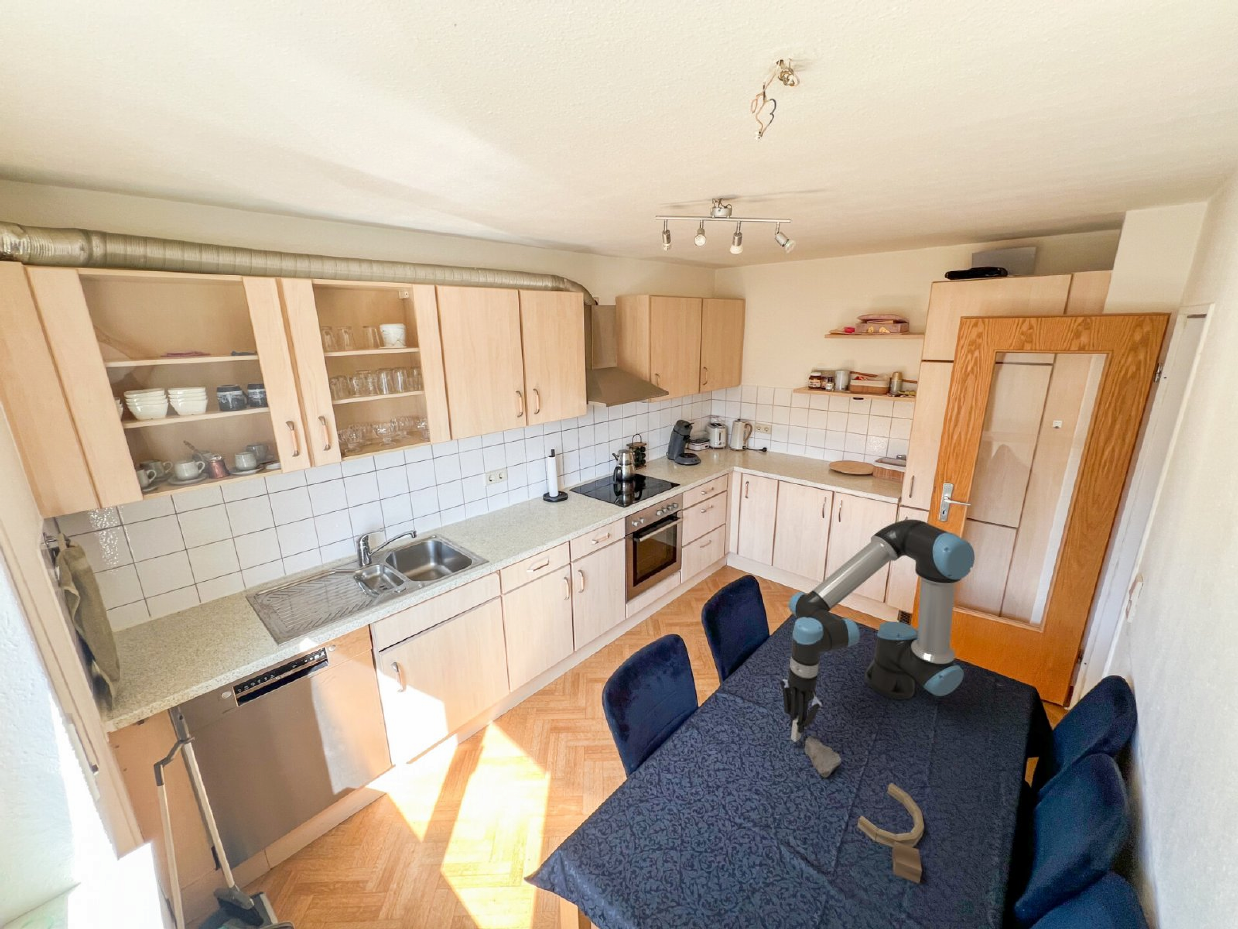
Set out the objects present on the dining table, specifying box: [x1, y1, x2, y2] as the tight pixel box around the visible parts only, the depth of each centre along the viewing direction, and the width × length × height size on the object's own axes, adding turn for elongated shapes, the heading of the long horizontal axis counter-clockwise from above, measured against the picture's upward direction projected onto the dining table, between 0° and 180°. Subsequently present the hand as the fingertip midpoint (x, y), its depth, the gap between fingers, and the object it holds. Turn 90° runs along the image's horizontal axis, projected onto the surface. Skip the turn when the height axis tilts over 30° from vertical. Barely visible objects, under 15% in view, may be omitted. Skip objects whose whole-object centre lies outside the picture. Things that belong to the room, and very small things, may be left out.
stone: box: [804, 735, 842, 778], centre depth 139 cm, size 8×10×6 cm
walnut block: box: [891, 841, 923, 884], centre depth 112 cm, size 5×5×4 cm
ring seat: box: [856, 782, 925, 848], centre depth 122 cm, size 17×11×2 cm, turn 127°
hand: (795, 738), depth 144 cm, fingers closed
